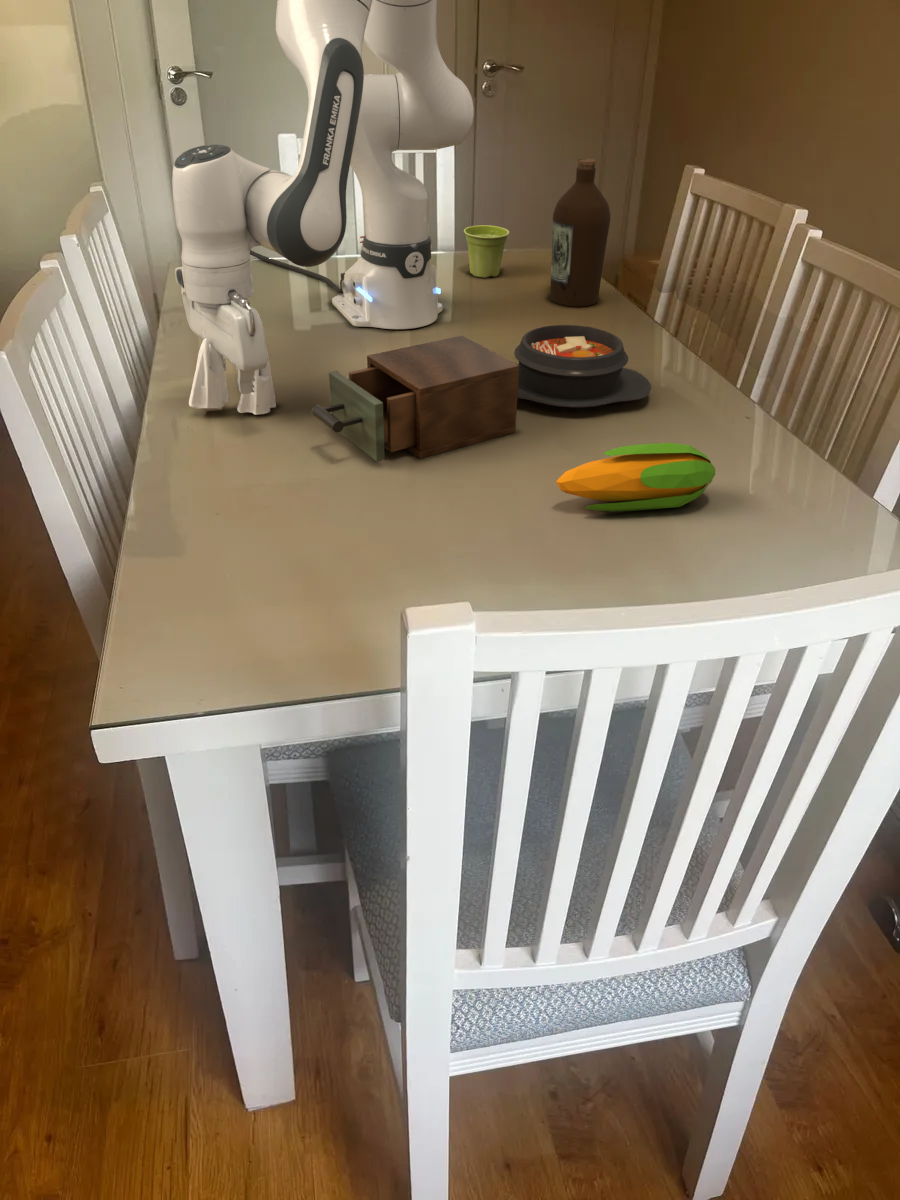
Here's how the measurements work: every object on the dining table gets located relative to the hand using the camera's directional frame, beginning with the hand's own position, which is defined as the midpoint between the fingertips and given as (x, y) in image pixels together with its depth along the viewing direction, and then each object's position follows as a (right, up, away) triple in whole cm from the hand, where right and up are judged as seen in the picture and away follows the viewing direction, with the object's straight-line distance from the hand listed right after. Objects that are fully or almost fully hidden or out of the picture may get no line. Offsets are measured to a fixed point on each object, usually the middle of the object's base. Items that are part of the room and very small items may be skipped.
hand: (231, 381), depth 130 cm
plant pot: (+38, +37, +62) cm, 82 cm away
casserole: (+49, 0, +11) cm, 50 cm away
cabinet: (+30, -7, 0) cm, 31 cm away
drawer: (+22, -9, -5) cm, 24 cm away
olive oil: (+55, +28, +49) cm, 79 cm away
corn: (+54, -19, -17) cm, 59 cm away
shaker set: (0, -4, +3) cm, 5 cm away
